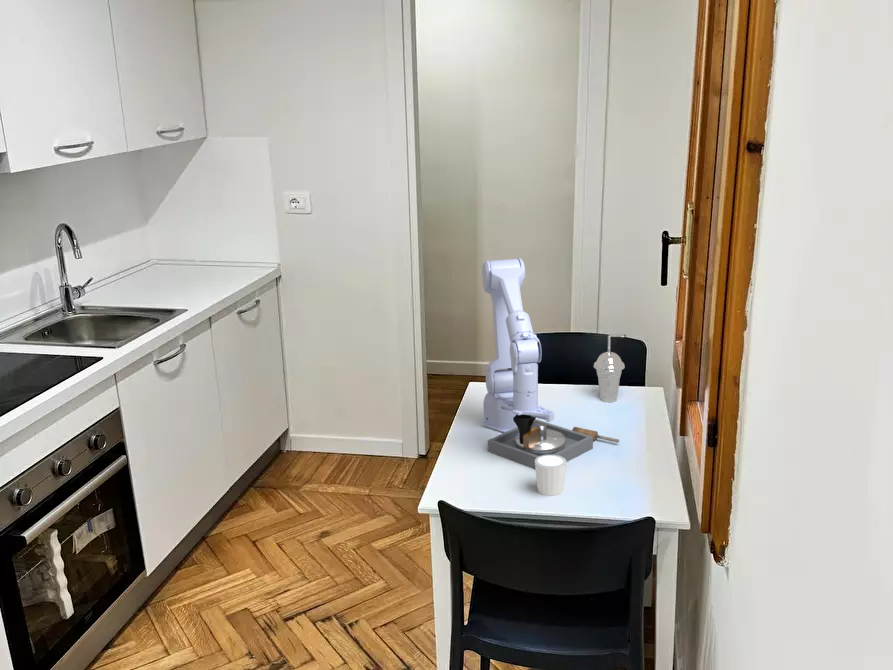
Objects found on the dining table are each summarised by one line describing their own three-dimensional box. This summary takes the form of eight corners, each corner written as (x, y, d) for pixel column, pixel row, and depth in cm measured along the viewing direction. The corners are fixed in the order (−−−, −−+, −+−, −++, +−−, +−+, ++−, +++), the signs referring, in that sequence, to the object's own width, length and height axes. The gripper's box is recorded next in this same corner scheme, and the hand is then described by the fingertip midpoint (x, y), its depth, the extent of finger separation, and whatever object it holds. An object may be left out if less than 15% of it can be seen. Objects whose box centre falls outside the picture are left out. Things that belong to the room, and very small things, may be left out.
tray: (487, 451, 202) (487, 440, 201) (535, 429, 214) (535, 418, 213) (546, 472, 189) (546, 460, 189) (592, 448, 202) (592, 436, 201)
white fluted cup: (546, 500, 177) (546, 470, 175) (528, 487, 183) (528, 458, 181) (572, 492, 180) (572, 462, 178) (554, 480, 186) (554, 451, 184)
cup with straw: (615, 392, 238) (616, 325, 232) (630, 403, 230) (632, 333, 224) (588, 396, 236) (588, 328, 230) (602, 407, 227) (603, 337, 222)
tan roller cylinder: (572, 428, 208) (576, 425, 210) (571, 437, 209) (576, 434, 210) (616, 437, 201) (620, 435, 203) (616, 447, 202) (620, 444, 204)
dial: (529, 431, 209) (529, 411, 208) (573, 440, 203) (573, 419, 202) (503, 450, 198) (503, 430, 197) (549, 460, 192) (549, 439, 191)
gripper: (490, 388, 195) (490, 441, 199) (542, 400, 186) (542, 456, 190) (507, 379, 200) (507, 432, 204) (559, 391, 191) (558, 445, 195)
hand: (525, 443), depth 197 cm, fingers closed, pressing on dial
